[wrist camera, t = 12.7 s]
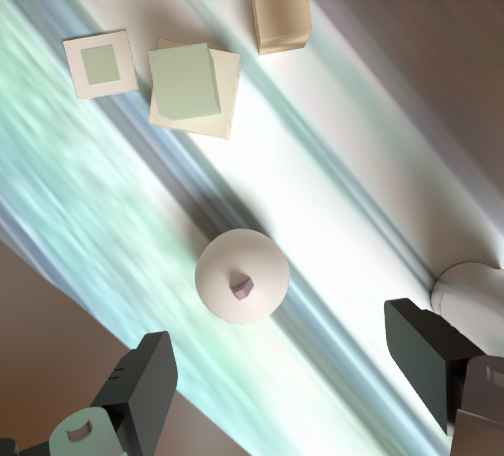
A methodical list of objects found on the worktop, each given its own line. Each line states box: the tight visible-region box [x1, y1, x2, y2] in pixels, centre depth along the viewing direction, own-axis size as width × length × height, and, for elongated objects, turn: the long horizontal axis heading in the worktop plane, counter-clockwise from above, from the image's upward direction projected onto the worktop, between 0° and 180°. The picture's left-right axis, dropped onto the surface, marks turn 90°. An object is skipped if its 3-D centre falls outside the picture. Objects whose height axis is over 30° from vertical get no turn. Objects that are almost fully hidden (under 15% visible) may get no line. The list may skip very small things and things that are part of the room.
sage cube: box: [147, 43, 222, 121], centre depth 29 cm, size 5×5×5 cm
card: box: [63, 31, 140, 100], centre depth 35 cm, size 7×6×1 cm
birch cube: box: [252, 0, 312, 56], centre depth 32 cm, size 5×5×5 cm
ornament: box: [195, 229, 290, 325], centre depth 35 cm, size 10×10×12 cm
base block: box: [149, 38, 241, 140], centre depth 34 cm, size 8×8×5 cm
